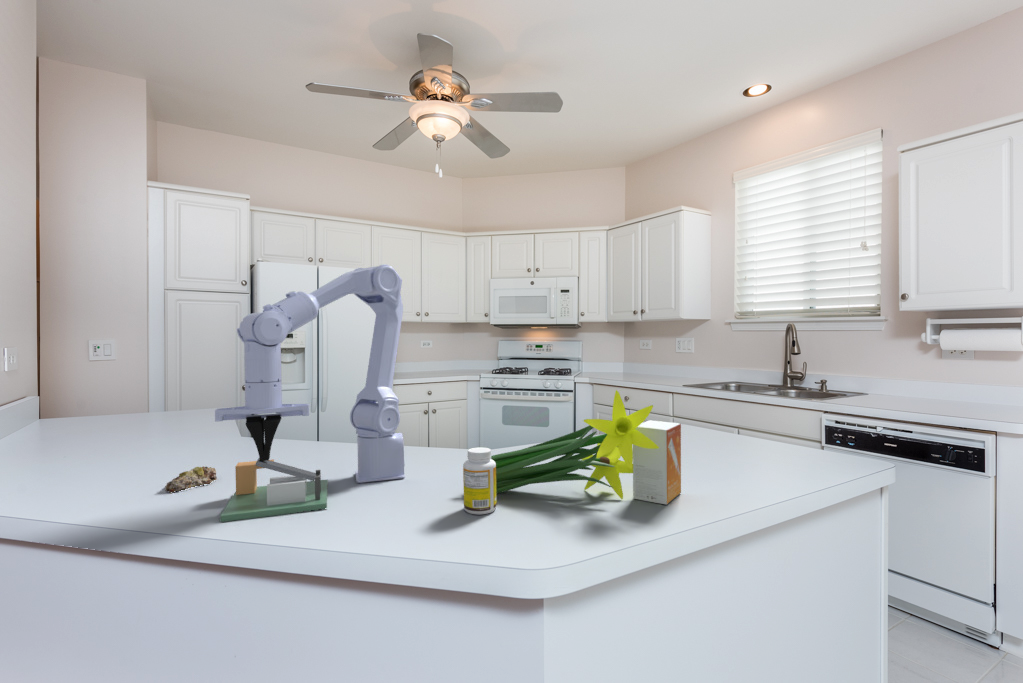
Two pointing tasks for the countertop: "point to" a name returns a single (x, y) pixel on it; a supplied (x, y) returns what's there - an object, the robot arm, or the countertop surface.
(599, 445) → the daffodil flowers
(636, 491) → the small box
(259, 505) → the board
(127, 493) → the countertop surface
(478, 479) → the supplement bottle
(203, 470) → the mineral rock
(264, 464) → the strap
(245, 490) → the orange l-shaped block
